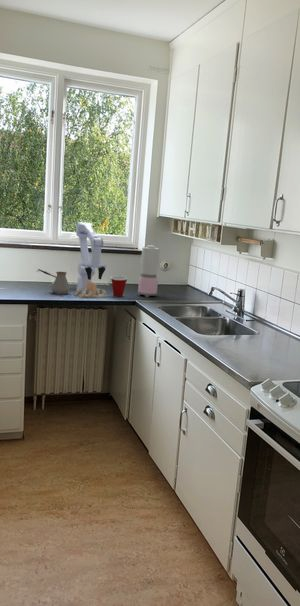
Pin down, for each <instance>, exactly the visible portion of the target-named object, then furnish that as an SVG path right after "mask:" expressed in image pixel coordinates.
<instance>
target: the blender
mask: <svg viewBox="0 0 300 606" xmlns="http://www.w3.org/2000/svg"><path fill="white" fill-rule="evenodd" d="M159 262H160V248H158V247H156V246H155V245H148V244H147V245H146V246H142V248H141V255H140V269H141V270H140V271H141V274H140V276H139V278H138V286H137V287H138V288H137V295H138V296H139V297H140V296H141V295H143V296H145V298H149V297H150V296H155V297H157V293H158V283H159V282H158V281H159V280H158V278H157V272H158V268H159V264H160V263H159Z"/></svg>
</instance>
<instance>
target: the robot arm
mask: <svg viewBox="0 0 300 606" xmlns="http://www.w3.org/2000/svg"><path fill="white" fill-rule="evenodd" d="M93 227H94V225H93V223H92V222H83V221H81V222H80V221H78V222H76V223H75V233H76V237H78V240H79V246H80V256H81V262H80V263H79V264H78V266H77V267H78V268H77V272H78V275H79V276H78V278H77V286H76V289H79V290H82V291H83V289H86V283H87V282H93V281H92V280H93V277H94V275H95V273H96V269H97V271H98V280H102V278H103V275H104V272H105V271H106V268H107V264H102V263H101V258H102V248H103V245H104V240H103V238H102V237H99V235H98V234H97V232H96V231H94V230H93V229H94V228H93ZM88 240H89V241H90V249H91V256H90V255H89V254H90V253H89V247H88ZM90 258H91V259H90Z"/></svg>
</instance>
